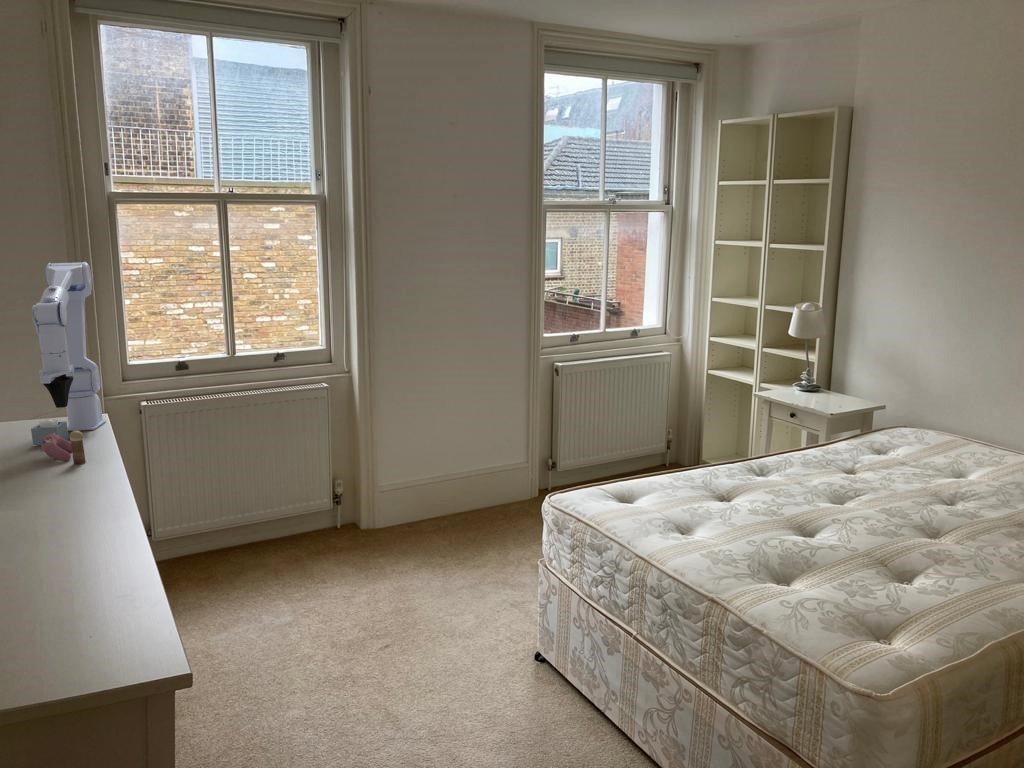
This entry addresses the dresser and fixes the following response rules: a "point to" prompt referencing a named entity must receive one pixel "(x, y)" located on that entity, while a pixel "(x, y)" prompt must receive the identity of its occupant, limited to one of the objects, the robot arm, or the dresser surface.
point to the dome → (48, 423)
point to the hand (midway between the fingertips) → (61, 407)
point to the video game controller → (56, 447)
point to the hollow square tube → (49, 432)
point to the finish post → (77, 447)
